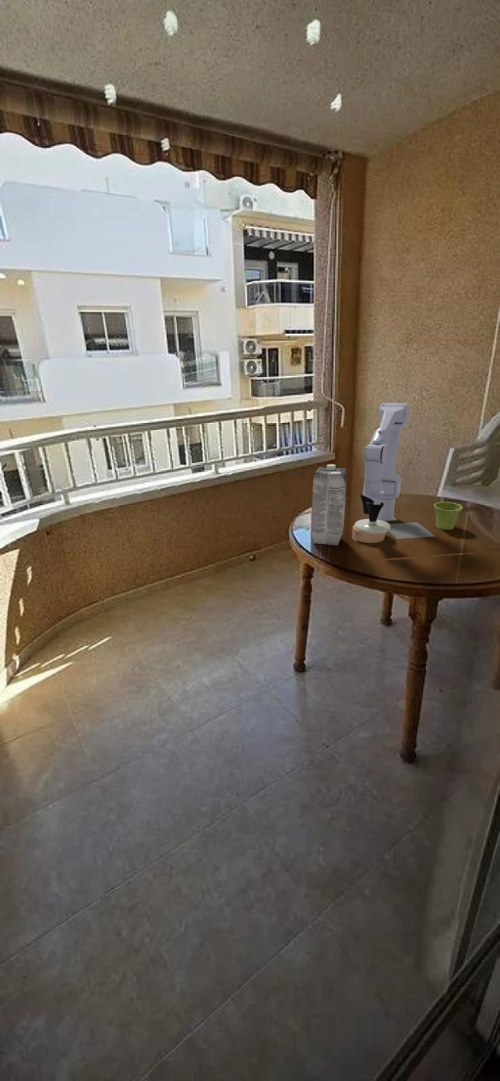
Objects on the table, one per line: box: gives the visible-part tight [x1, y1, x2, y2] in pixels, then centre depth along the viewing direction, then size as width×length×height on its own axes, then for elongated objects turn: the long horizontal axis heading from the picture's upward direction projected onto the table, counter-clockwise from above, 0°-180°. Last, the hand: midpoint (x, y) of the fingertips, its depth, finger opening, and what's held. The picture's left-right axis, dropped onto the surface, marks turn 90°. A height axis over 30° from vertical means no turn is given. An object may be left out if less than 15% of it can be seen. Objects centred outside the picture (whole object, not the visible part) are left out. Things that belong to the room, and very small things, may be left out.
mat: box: [388, 522, 435, 540], centre depth 160 cm, size 14×14×1 cm
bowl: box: [351, 523, 386, 544], centre depth 155 cm, size 11×11×4 cm
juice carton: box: [311, 464, 347, 546], centre depth 149 cm, size 9×10×27 cm
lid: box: [354, 518, 391, 534], centre depth 153 cm, size 12×12×5 cm
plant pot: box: [433, 501, 463, 531], centre depth 161 cm, size 9×9×9 cm
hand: (369, 517), depth 153 cm, fingers open, 7 cm apart
